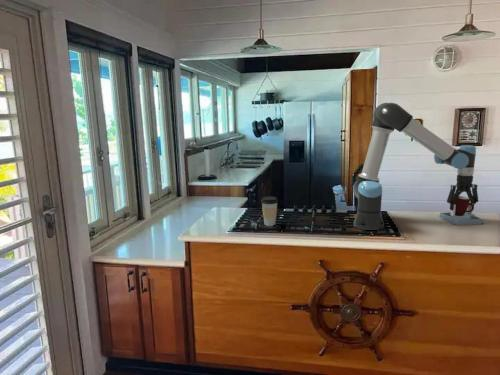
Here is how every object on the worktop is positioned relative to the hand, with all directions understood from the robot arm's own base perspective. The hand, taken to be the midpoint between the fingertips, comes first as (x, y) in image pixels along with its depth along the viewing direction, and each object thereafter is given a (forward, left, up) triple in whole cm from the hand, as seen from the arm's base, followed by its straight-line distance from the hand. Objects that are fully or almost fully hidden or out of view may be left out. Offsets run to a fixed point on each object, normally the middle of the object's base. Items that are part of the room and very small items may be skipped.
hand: (461, 215), depth 204 cm
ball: (+10, +10, -3) cm, 15 cm away
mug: (0, 0, 0) cm, 0 cm away
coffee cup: (-104, +10, -3) cm, 104 cm away
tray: (0, 0, -3) cm, 3 cm away
